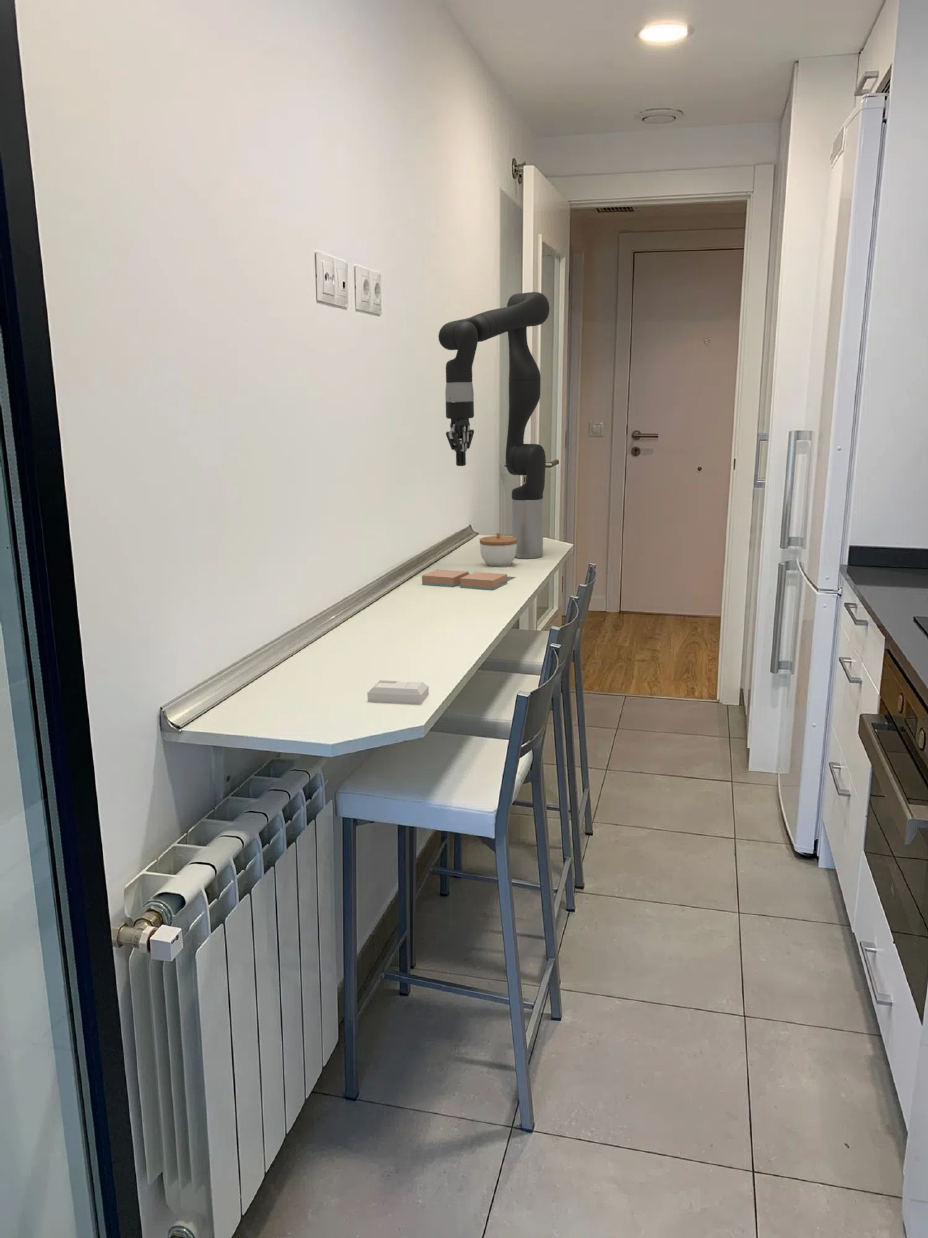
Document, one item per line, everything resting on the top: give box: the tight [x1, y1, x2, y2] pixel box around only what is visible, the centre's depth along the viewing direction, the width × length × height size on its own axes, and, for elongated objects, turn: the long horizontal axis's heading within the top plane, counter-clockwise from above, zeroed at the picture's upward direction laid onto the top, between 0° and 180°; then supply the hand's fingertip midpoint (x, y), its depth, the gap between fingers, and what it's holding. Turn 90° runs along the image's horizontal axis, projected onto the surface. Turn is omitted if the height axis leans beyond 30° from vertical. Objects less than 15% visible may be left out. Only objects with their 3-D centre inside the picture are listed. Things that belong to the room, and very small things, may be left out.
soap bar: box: [366, 679, 430, 705], centre depth 155 cm, size 5×9×3 cm, turn 78°
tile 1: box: [421, 569, 470, 588], centre depth 245 cm, size 2×9×9 cm
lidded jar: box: [479, 532, 517, 568], centre depth 268 cm, size 11×11×9 cm
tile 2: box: [459, 571, 508, 591], centre depth 240 cm, size 2×9×9 cm
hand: (460, 465), depth 256 cm, fingers closed
